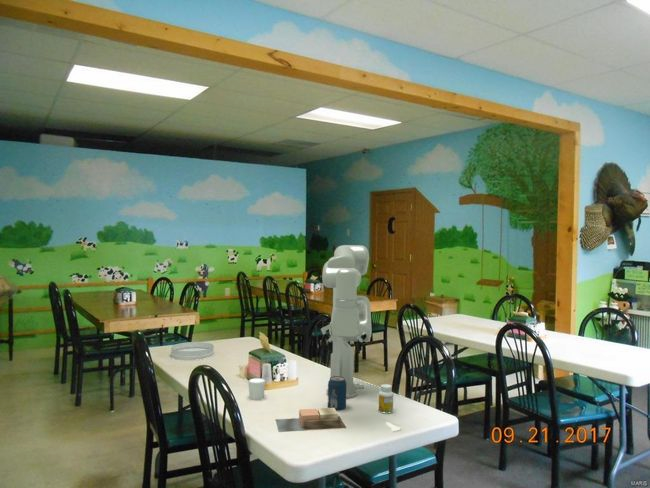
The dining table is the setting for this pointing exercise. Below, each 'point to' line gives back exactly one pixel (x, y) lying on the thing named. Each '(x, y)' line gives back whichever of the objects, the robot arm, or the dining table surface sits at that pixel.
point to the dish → (192, 350)
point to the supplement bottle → (386, 399)
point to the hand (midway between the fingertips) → (344, 352)
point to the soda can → (337, 393)
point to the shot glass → (256, 388)
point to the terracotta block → (307, 415)
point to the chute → (308, 424)
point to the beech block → (327, 413)
